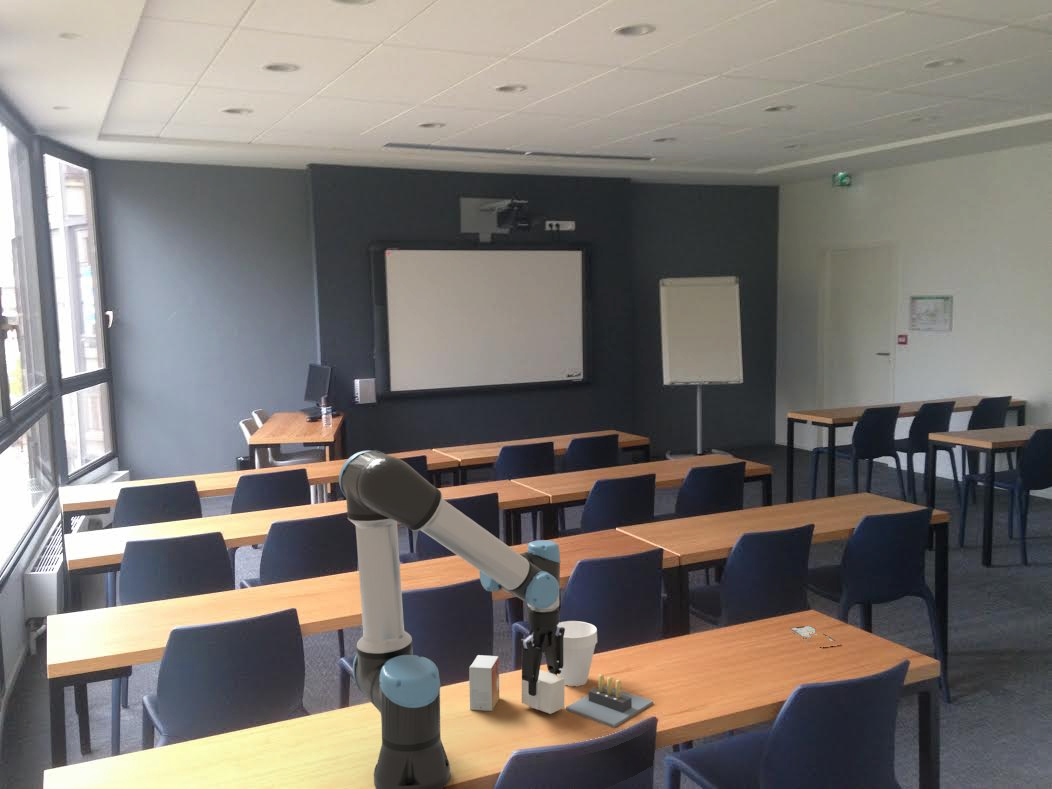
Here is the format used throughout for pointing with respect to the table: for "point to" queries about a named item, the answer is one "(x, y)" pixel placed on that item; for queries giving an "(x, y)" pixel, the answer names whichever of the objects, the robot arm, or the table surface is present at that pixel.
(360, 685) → the robot arm
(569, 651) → the cup
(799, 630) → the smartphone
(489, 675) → the small box
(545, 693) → the block
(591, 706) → the header
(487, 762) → the table surface
